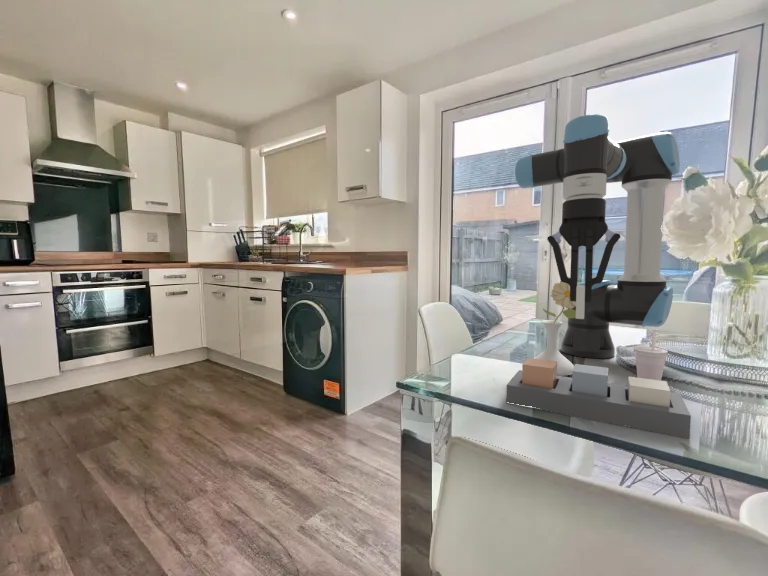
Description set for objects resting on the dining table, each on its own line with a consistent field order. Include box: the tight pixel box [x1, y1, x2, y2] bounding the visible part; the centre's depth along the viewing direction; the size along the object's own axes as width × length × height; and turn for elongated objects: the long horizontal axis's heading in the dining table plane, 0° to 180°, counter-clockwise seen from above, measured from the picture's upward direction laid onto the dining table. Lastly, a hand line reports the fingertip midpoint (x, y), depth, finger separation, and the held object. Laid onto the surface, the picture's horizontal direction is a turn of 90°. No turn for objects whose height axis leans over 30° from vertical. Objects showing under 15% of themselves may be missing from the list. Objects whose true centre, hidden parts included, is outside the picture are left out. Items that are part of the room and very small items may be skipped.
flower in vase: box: [532, 280, 579, 377], centre depth 96 cm, size 13×11×25 cm
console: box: [505, 369, 692, 440], centre depth 74 cm, size 12×30×4 cm, turn 58°
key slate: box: [571, 363, 609, 397], centre depth 74 cm, size 6×6×5 cm
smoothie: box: [632, 329, 669, 381], centre depth 84 cm, size 6×6×14 cm
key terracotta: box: [522, 357, 557, 389], centre depth 79 cm, size 6×6×5 cm
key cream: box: [627, 376, 671, 407], centre depth 69 cm, size 6×6×5 cm
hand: (579, 317), depth 74 cm, fingers closed
